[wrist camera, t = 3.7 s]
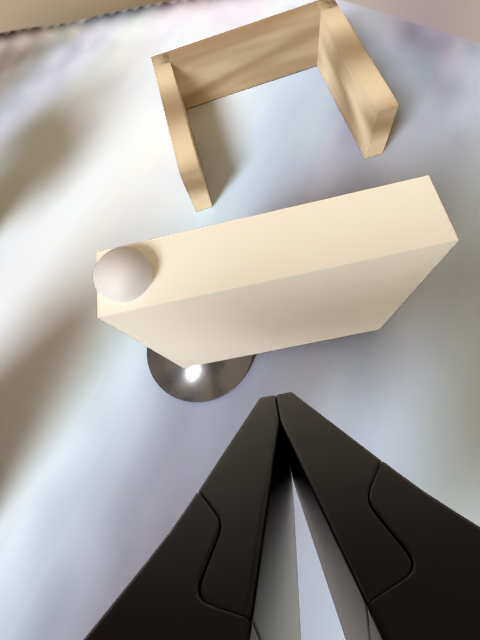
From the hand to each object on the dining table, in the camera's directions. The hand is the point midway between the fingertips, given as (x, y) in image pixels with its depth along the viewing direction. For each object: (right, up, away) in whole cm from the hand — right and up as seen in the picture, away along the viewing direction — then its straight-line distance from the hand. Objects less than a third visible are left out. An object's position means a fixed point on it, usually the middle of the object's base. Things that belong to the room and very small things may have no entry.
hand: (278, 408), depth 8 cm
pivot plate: (-3, +1, +11) cm, 12 cm away
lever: (+1, +2, +10) cm, 11 cm away
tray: (+1, +17, +16) cm, 23 cm away
